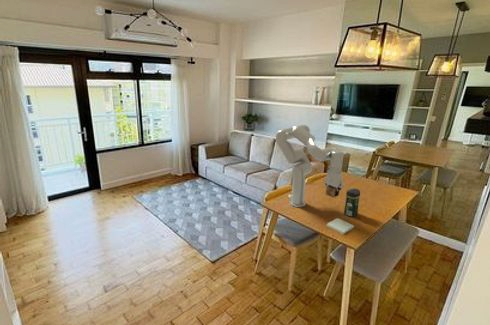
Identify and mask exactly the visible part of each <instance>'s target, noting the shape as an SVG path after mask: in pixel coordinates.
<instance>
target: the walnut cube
mask: <svg viewBox="0 0 490 325" xmlns="http://www.w3.org/2000/svg"><path fill="white" fill-rule="evenodd" d="M325 188H326V189H325V195H326V196H329V197H330V198H335V197H337V196H335V191H336V187H333V186H330V185H329V186H327V187H325Z"/></svg>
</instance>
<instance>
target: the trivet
mask: <svg viewBox="0 0 490 325" xmlns="http://www.w3.org/2000/svg"><path fill="white" fill-rule="evenodd" d="M326 227H328V228H329V229H332V230H334V231H336V232H337V233H340V234H342V235H344V234H346V233H347V232H349V231H351V230H352V229H354V228H355V225H353V224H351V223H349V222H347V221H346V220H343V219H341V218H338V217H337V218H335V219H333V220H332V221H329V222H327V223H326Z"/></svg>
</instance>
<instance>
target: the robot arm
mask: <svg viewBox="0 0 490 325" xmlns="http://www.w3.org/2000/svg"><path fill="white" fill-rule="evenodd" d="M310 132H311V131H310V128H309V126H308V125H306V124H301V125H297V126H292V127H291V126H290V127H286V128H283V129H282V128H281V129H280V130H278V131H277V132H276V135H275V141H276V142H275V143H276V144H277V146H278V147H279V149H280V150H281V151H282V154H283V155H284V158H285V159H286V161H287V162H288V164H289V165H294V166H293V167H292V169H291V176H292V184H291V194H289V195H288V197H287V198H288V199H290V200H288V201H289V203H288V204H289V205H290V206H292V207H295V208H302V207H305V206H306V204H307V202H306V201H305V192H306V179H305V177H306V175H308V174H310V173H311V172H313V166H312V163H311V162H310V160H309V157H308V156H307V154H306V153H305V152H304V151H303V149H294V147H293V145H292V143H290V142H289V141H288V140H291V139H292V140H293V139H296V140H298V141H299V142H300V143H301V144H303V145H304V146H306V150H307V151H308V153H309V155H310V156H312V157H313V158H315V159H316V160H317V161H319V162H325V161H327V160H329V161H330V162H329V165H328V169H327V172H326V175H325V178H324V179H323V183H324V185H325V188H327V186H329V185H330V186H333V187H336V191H335V196H336V197H338V196H339V195H340V191H341V190H342V189H344V188H345V185H344V183H343V172H342V170H343V169H342V168H343V161H344V155H345V154H344V152H343V151H342V150H339V149H338V150H337V149H334V148H332V147H324V148H322V149H321V148H320V147H318V146H317V145H316V143H315V139H316V138H315V135H313V134H312V133H310ZM295 164H296V165H295Z"/></svg>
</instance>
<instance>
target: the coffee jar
mask: <svg viewBox="0 0 490 325" xmlns="http://www.w3.org/2000/svg"><path fill="white" fill-rule="evenodd" d="M345 196H346V197H345V203H344V204H345V205H344V208H343V214H344V215H345V216H347V217H356V216H357V214H358V213H359V203H360V197H361V190H360V189H359V188H355V187H352V188H349V189H348V190H346V194H345Z"/></svg>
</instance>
